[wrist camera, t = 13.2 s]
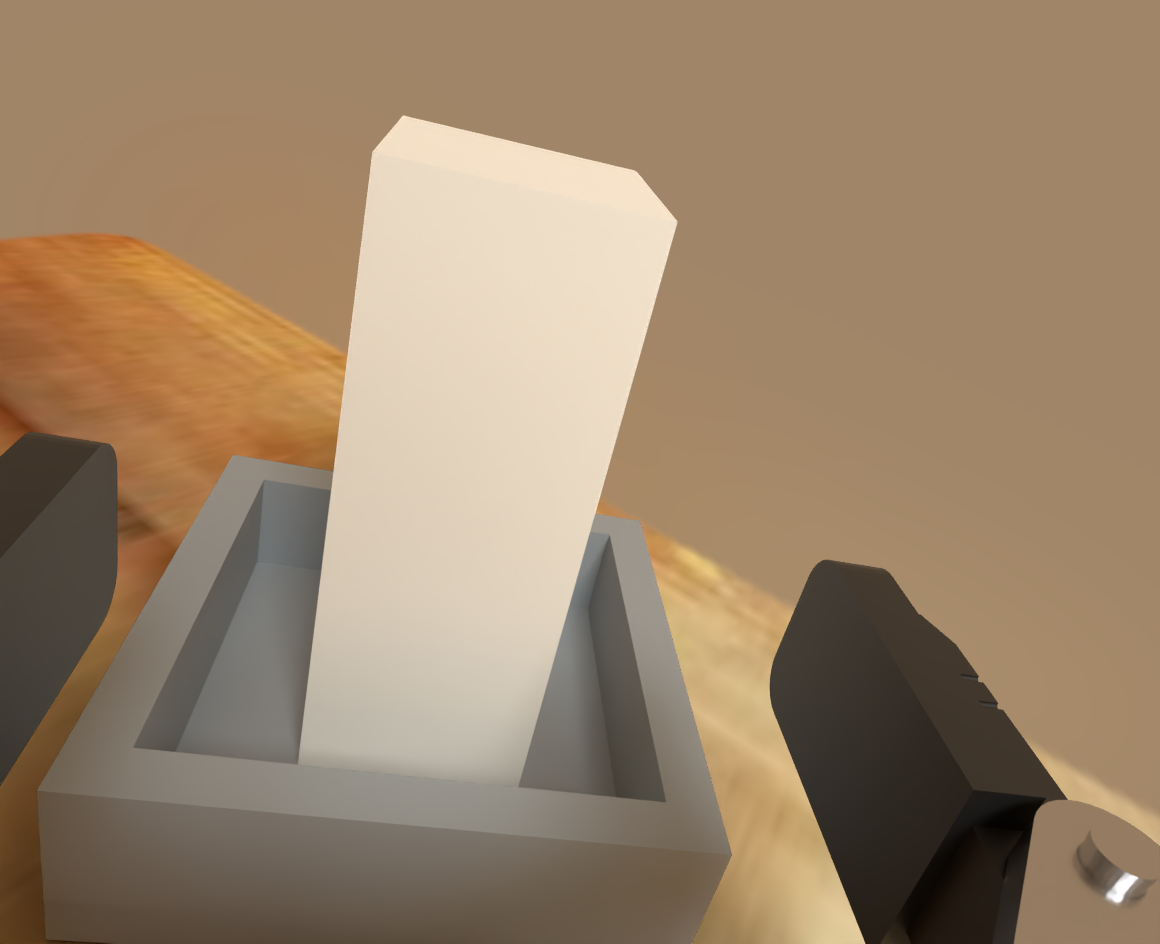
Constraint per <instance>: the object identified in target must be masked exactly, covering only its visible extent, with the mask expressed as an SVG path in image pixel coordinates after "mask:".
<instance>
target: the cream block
mask: <svg viewBox="0 0 1160 944" xmlns="http://www.w3.org/2000/svg"><path fill="white" fill-rule="evenodd" d="M676 225H677V220H676V219H675V218H674V217H673V216H672V214H671V213H670V212H669V211H668V210H667V208H666V207H665V206H664V205H663V203H662V202H661V201H660V200H659V199H658V197H657V196H656V195H655V194H654V193H653V191H652V190H651V189H650V188H649V186H648V185H647V184H646V183H645V182H644V180H643V179H642V178H641V177H640V175H639V174H638V173H637V172H636V171H634V170H630V169H626V168H621V167H617V166H612V165H609V164H604V163H600V162H596V161H591V160H588V159H584V158H579V157H575V156H571V155H567V154H562V153H558V152H554V151H550V150H546V149H541V148H537V147H533V146H529V145H525V144H520V143H516V142H512V141H508V140H504V139H499V138H495V137H491V136H487V135H483V134H478V133H474V132H470V131H466V130H461V129H457V128H453V127H449V126H445V125H441V124H436V123H432V122H428V121H424V120H420V119H415V118H411V117H407V116H402V118H401V119H400V120H399V121H398V122H397V124H396V125H395V126H394V127H393V128H392V129H391V131H390V132H389V133H388V134H387V135H386V137H385V138H384V139H383V140H382V141H381V142H380V144H379V145H378V146H377V147H376V148H375V150H374V151H373V153H372V161H371V170H370V177H369V186H368V194H367V202H366V210H365V218H364V227H363V235H362V243H361V251H360V259H359V268H358V276H357V284H356V293H355V301H354V308H353V316H352V325H351V333H350V341H349V349H348V357H347V365H346V374H345V382H344V390H343V398H342V406H341V415H340V423H339V431H338V439H337V447H336V455H335V464H334V472H333V480H332V488H331V496H330V504H329V513H328V521H327V529H326V537H325V545H324V553H323V562H322V570H321V578H320V586H319V594H318V603H317V611H316V619H315V627H314V635H313V643H312V652H311V660H310V668H309V676H308V684H307V692H306V701H305V709H304V717H303V725H302V733H301V741H300V750H299V758H298V765H306V766H316V767H326V768H335V769H345V770H355V771H365V772H374V773H384V774H394V775H404V776H413V777H423V778H433V779H443V780H452V781H462V782H472V783H482V784H491V785H501V786H511V787H518V786H519V782H520V779H521V775H522V772H523V768H524V765H525V761H526V757H527V754H528V750H529V747H530V743H531V740H532V736H533V733H534V729H535V725H536V722H537V718H538V715H539V711H540V708H541V704H542V701H543V697H544V694H545V690H546V686H547V683H548V679H549V676H550V672H551V669H552V665H553V662H554V658H555V654H556V651H557V647H558V644H559V640H560V637H561V633H562V630H563V626H564V623H565V619H566V615H567V612H568V608H569V605H570V601H571V598H572V594H573V591H574V587H575V584H576V580H577V576H578V573H579V569H580V566H581V562H582V559H583V555H584V552H585V548H586V544H587V541H588V537H589V534H590V530H591V527H592V523H593V520H594V516H595V513H596V509H597V505H598V502H599V498H600V495H601V491H602V488H603V484H604V481H605V477H606V473H607V470H608V466H609V463H610V459H611V456H612V452H613V448H614V445H615V442H616V438H617V434H618V431H619V427H620V424H621V420H622V416H623V413H624V410H625V405H626V402H627V398H628V395H629V392H630V388H631V385H632V381H633V378H634V374H635V370H636V367H637V363H638V360H639V356H640V353H641V349H642V345H643V342H644V339H645V335H646V331H647V328H648V324H649V321H650V317H651V314H652V310H653V307H654V303H655V300H656V296H657V292H658V289H659V285H660V282H661V278H662V275H663V271H664V267H665V264H666V260H667V257H668V253H669V250H670V246H671V243H672V239H673V236H674V232H675V229H676Z"/></svg>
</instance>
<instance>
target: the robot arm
mask: <svg viewBox="0 0 1160 944" xmlns="http://www.w3.org/2000/svg"><path fill="white" fill-rule="evenodd" d="M117 564H118V557H117V459H116V454H115V451H114V449H113V447H112V446H111V445H110V444H107V443H101V442H94V441H88V440H82V439H76V438H69V437H63V436H57V435H51V434H44V433H38V432H29V433H26V434H25V435H24V436H22V437H21V438H20V439H19V440H18V441H17V442H16V443H15V444H13V445H12V446H11V447H10V448H9V449H8V450H7V451H6V452H5V453H4V454H3V455H1V456H0V785H1V784H2V782H3V781H4V779H5V778H6V776H7V774H8V773H9V771H10V770H11V768H12V766H13V765H14V763H15V762H16V760H17V759H18V757H19V755H20V754H21V752H22V751H23V749H24V747H25V746H26V744H27V743H28V741H29V740H30V738H31V736H32V735H33V733H34V732H35V730H36V728H37V727H38V725H39V724H40V722H41V720H42V719H43V717H44V716H45V714H46V713H47V711H48V709H49V708H50V706H51V705H52V703H53V701H54V700H55V698H56V697H57V695H58V694H59V692H60V690H61V689H62V687H63V686H64V684H65V682H66V681H67V679H68V678H69V676H70V675H71V673H72V671H73V670H74V668H75V667H76V665H77V663H78V662H79V660H80V659H81V657H82V655H83V654H84V652H85V651H86V649H87V648H88V646H89V644H90V643H91V641H92V640H93V638H94V636H95V635H96V633H97V632H98V630H99V629H100V627H101V625H102V623H103V622H104V619H105V617H106V615H107V613H108V610H109V607H110V604H111V601H112V597H113V594H114V589H115V584H116V578H117ZM770 698H771V704H772V708H773V711H774V714H775V716H776V719H777V721H778V724H779V726H780V729H781V731H782V734H783V736H784V739H785V742H786V744H787V747H788V749H789V752H790V754H791V757H792V759H793V762H794V764H795V767H796V769H797V772H798V774H799V777H800V779H801V782H802V784H803V787H804V789H805V792H806V795H807V797H808V800H809V802H810V805H811V807H812V810H813V812H814V815H815V817H816V820H817V822H818V825H819V827H820V830H821V832H822V835H823V837H824V840H825V842H826V845H827V848H828V850H829V853H830V855H831V858H832V860H833V863H834V865H835V868H836V870H837V873H838V875H839V878H840V880H841V883H842V885H843V888H844V890H845V893H846V895H847V898H848V901H849V903H850V906H851V908H852V911H853V913H854V916H855V918H856V921H857V923H858V926H859V928H860V931H861V933H862V936H863V938H864V941H865V943H866V944H1160V846H1159V845H1158V844H1157V843H1155V842H1154V841H1153V840H1152V839H1150V838H1149V837H1148V836H1147V835H1145V834H1144V833H1143V832H1141V831H1140V830H1138V829H1137V828H1135V827H1134V826H1132V825H1131V824H1129V823H1128V822H1126V821H1124V820H1122V819H1121V818H1119V817H1117V816H1115V815H1113V814H1111V813H1109V812H1107V811H1105V810H1103V809H1100V808H1097V807H1095V806H1092V805H1089V804H1085V803H1082V802H1078V801H1071V800H1068V799H1067V798H1066V797H1065V795H1064V794H1063V792H1062V791H1061V790H1060V788H1059V787H1058V785H1057V784H1056V783H1055V781H1054V780H1053V778H1052V777H1051V776H1050V774H1049V773H1048V772H1047V770H1046V769H1045V767H1044V766H1043V765H1042V763H1041V762H1040V760H1039V759H1038V758H1037V756H1036V755H1035V754H1034V752H1033V751H1032V749H1031V748H1030V747H1029V745H1028V744H1027V742H1026V741H1025V740H1024V738H1023V737H1022V736H1021V734H1020V733H1019V732H1018V730H1017V729H1016V727H1015V726H1014V725H1013V723H1012V722H1011V720H1010V719H1009V718H1008V716H1007V715H1006V713H1005V712H1004V711H1003V710H1000V709H998V708H997V704H998V702H997V701H996V700H995V698H994V697H993V695H992V694H991V693H990V691H989V690H988V688H987V687H986V686H985V684H984V683H981V682H978V675H977V673H976V672H975V671H974V669H973V668H972V666H971V665H970V664H969V662H968V661H967V659H966V658H965V657H964V655H963V654H962V652H961V651H960V650H959V648H958V647H957V646H956V644H955V643H953V642H952V641H951V640H950V639H949V638H948V637H946V636H945V635H944V634H943V633H942V632H940V631H939V630H938V629H937V628H936V627H934V626H933V625H932V624H931V623H929V622H928V621H927V620H926V619H925V618H924V617H923V616H921V615H919V614H918V613H917V611H916V610H915V608H914V607H913V606H912V604H911V603H910V601H909V600H908V598H907V597H906V596H905V594H904V593H903V591H902V590H901V588H900V587H899V585H898V584H897V583H896V581H895V580H894V578H893V577H892V576H891V574H890V573H889V572H888V571H886V570H885V569H882V568H876V567H870V566H864V565H858V564H851V563H845V562H838V561H832V560H823V561H821V562H819V563H818V564H817V565H816V566H815V567H814V568H813V570H812V572H811V573H810V575H809V577H808V580H807V582H806V584H805V587H804V590H803V592H802V594H801V596H800V599H799V601H798V603H797V606H796V608H795V610H794V613H793V615H792V617H791V620H790V622H789V625H788V627H787V629H786V632H785V634H784V636H783V639H782V641H781V643H780V646H779V648H778V650H777V653H776V655H775V658H774V661H773V665H772V669H771V676H770Z"/></svg>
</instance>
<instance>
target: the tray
mask: <svg viewBox="0 0 1160 944" xmlns="http://www.w3.org/2000/svg"><path fill="white" fill-rule="evenodd" d="M333 472H334V471H329V470H323V469H317V468H311V467H305V466H299V465H293V464H286V463H280V462H274V461H268V460H262V459H256V458H250V457H243V456H237V455H233V456H232V458H231V459H230V461H229V463H228V464H227V466H226V468H225V470H224V471H223V473H222V475H221V476H220V478H219V480H218V482H217V483H216V485H215V487H214V488H213V490H212V492H211V493H210V495H209V497H208V499H207V500H206V502H205V504H204V505H203V507H202V509H201V511H200V512H199V514H198V516H197V517H196V519H195V521H194V523H193V524H192V526H191V528H190V529H189V531H188V533H187V535H186V536H185V538H184V540H183V541H182V543H181V545H180V547H179V548H178V550H177V552H176V553H175V555H174V557H173V558H172V560H171V562H170V564H169V565H168V567H167V569H166V570H165V572H164V574H163V576H162V577H161V579H160V581H159V582H158V584H157V586H156V588H155V589H154V591H153V593H152V594H151V596H150V598H149V600H148V601H147V603H146V605H145V606H144V608H143V610H142V612H141V613H140V615H139V617H138V618H137V620H136V622H135V623H134V625H133V627H132V629H131V630H130V632H129V634H128V635H127V637H126V639H125V641H124V642H123V644H122V646H121V647H120V649H119V651H118V653H117V654H116V656H115V658H114V659H113V661H112V663H111V665H110V666H109V668H108V670H107V671H106V673H105V675H104V677H103V678H102V680H101V682H100V683H99V685H98V687H97V688H96V690H95V692H94V694H93V695H92V697H91V699H90V700H89V702H88V704H87V706H86V707H85V709H84V711H83V712H82V714H81V716H80V718H79V719H78V721H77V723H76V724H75V726H74V728H73V730H72V731H71V733H70V735H69V736H68V738H67V740H66V742H65V743H64V745H63V747H62V748H61V750H60V752H59V753H58V755H57V757H56V759H55V760H54V762H53V764H52V765H51V767H50V769H49V771H48V772H47V774H46V776H45V777H44V779H43V781H42V783H41V784H40V786H39V788H38V789H37V803H38V819H39V835H40V851H41V867H42V883H43V899H44V915H45V931H46V939H48V940H63V941H79V942H95V943H110V944H692V942H693V939H694V937H695V935H696V933H697V931H698V928H699V926H700V924H701V922H702V920H703V917H704V915H705V913H706V911H707V909H708V906H709V904H710V902H711V900H712V898H713V896H714V893H715V891H716V889H717V887H718V885H719V882H720V880H721V878H722V876H723V874H724V871H725V869H726V867H727V865H728V863H729V860H730V858H731V856H732V853H731V850H730V846H729V842H728V839H727V835H726V832H725V828H724V824H723V821H722V817H721V813H720V810H719V806H718V803H717V799H716V795H715V792H714V788H713V784H712V781H711V777H710V773H709V770H708V766H707V763H706V759H705V755H704V752H703V748H702V744H701V741H700V737H699V734H698V730H697V726H696V723H695V719H694V715H693V712H692V708H691V705H690V701H689V697H688V694H687V690H686V686H685V683H684V679H683V676H682V672H681V668H680V665H679V661H678V657H677V654H676V650H675V646H674V643H673V639H672V636H671V632H670V628H669V625H668V621H667V617H666V614H665V610H664V607H663V603H662V599H661V596H660V592H659V588H658V585H657V581H656V578H655V574H654V570H653V567H652V563H651V559H650V556H649V552H648V549H647V545H646V541H645V538H644V534H643V530H642V527H641V523H640V521H637V520H631V519H624V518H618V517H612V516H606V515H600V514H595V516H594V520H593V523H592V527H591V530H590V534H589V537H588V541H587V544H586V548H585V552H584V555H583V559H582V562H581V566H580V569H579V573H578V576H577V580H576V584H575V587H574V591H573V594H572V598H571V601H570V605H569V608H568V612H567V615H566V619H565V623H564V626H563V630H562V633H561V637H560V640H559V644H558V647H557V651H556V654H555V658H554V662H553V665H552V669H551V672H550V676H549V679H548V683H547V686H546V690H545V694H544V697H543V701H542V704H541V708H540V711H539V715H538V718H537V722H536V725H535V729H534V733H533V736H532V740H531V743H530V747H529V750H528V754H527V757H526V761H525V765H524V768H523V772H522V775H521V779H520V782H519V786H518V787H511V786H501V785H491V784H482V783H472V782H462V781H452V780H443V779H433V778H423V777H413V776H404V775H394V774H384V773H374V772H365V771H355V770H345V769H335V768H326V767H316V766H306V765H298V758H299V750H300V741H301V733H302V725H303V717H304V709H305V701H306V692H307V684H308V676H309V668H310V660H311V652H312V643H313V635H314V627H315V619H316V611H317V603H318V594H319V586H320V578H321V570H322V562H323V553H324V545H325V537H326V529H327V521H328V513H329V504H330V496H331V488H332V480H333Z"/></svg>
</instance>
